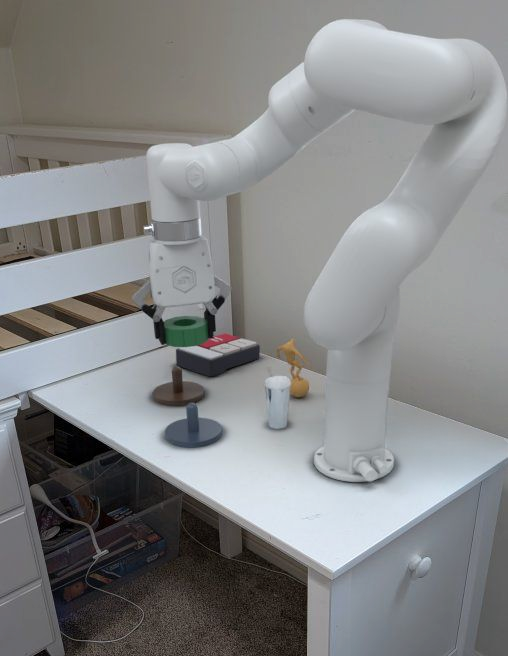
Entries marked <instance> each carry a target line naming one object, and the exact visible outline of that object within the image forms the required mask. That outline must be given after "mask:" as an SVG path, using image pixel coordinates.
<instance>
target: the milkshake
mask: <svg viewBox="0 0 508 656" xmlns="http://www.w3.org/2000/svg"><path fill="white" fill-rule="evenodd" d="M267 369H268V374H269V377H268V378H266V380H265V381H264V392H265V401H266V408H267V409H266V411H267V420H268V427H269V428H271V429H275V430H283V429H284V428H286V427H287V426H288V418H289V406H290V405H289V404H290V396H291V393H290V387H291V379H290V378H288V376H287V375H275V376H273V374H272V369H271V367H270V366H268V367H267Z"/></svg>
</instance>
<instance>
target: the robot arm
mask: <svg viewBox="0 0 508 656" xmlns="http://www.w3.org/2000/svg"><path fill="white" fill-rule="evenodd" d="M267 103H268V108H267V109H266V110H265V111H264V113H262V114H261V115H260V117H259V116H258V118H257V119H256V120H255V121H254V122H253V121H252V123H250V125H248V126H247V127H245V128H244V129H243V130H242V131H240V132H239V133H237V134H236V135H234V136H233V137H231V138H229V139H223V140H218V141H214V142H209V143H206V144H200V145H196V146H193V145H191V144H189V143H185V142H169V143H168V142H167V143H159V144H155V145H152V146H150V147H149V148H148V149H147V151H146V156H145V157H146V158H145V159H146V169H147V181H148V192H149V203H150V211H151V212H150V213H151V219H150V220H151V222H150V223H149V224H147V225H143V226H142V228H143V234H144V235H145V236H148V235H149V236H151V237H153V239H151V240H150V241H149V248H148V249H149V250H148V280H147V281H146V282H145V283H144V284H143V285H142V286H141V287H140V288H139V289H138V290H137V291H136V292H135V293H133V294H132V296H131V300H132V302H133V303H134V304H135V305H136V306H137V307H138V308H139V309H140V310H141V311H142V312H143V313H144V314H145V315H147V317H149V318H151V319H152V321H153V322H152V324H153V331H154V332H153V333H154V338H155V339H156V340H158V341H159V343H160V345H161V346H165V345H166V339H165V328H164V321H165V320H164V319H163V318H162V317H163V314H164V312H165V311H166V308H173V307H174V308H177V307H182V306H183V307H184V306H192V305H200V304H203V305H204V307H205V310H204V311H203V318H205V319H206V320H207V322H208V337H209V338H210V339H213V337H214V333H216V332H217V326H216V323H217V321H216V315H217V313H218V311H219V310H220V308H221V307H222V306H223V305H224V304H225V302H226V299H227V298H228V297H229V295H230V293H231V292H232V289H233V288H232V286H231V285H230V284H229V283H227V282H226V281H224V280H223V279H221V278H219V277H218V276H216V275H215V274H214V266H213V260H212V253H211V249H210V245H209V241H208V238H207V237H206V236H205V235H202V220H201V205H200V203H201V202H212V201H216V200H219V199H223V198H226V197H229V196H231V195H234V194H238V193H242V192H244V191H246V190H248V189H250V188H252V187H254V186H255V185H257V184H258V183H259V182H261V181H263V180H264V179H265V178H267V177H268V176H271V174H273V173H275V172H276V171H278V170H279V169H280V168H281V167H282V166H284V165H286V163H288V162H289V161H291V159H293V158H294V157H295V156H296V155H297V154H298V153H300V152H301V151H302V150H304V149H305V147H306V146H307V145H309V144H310V143H311V142H312V141H314V140H315V139H317V138H318V137H319V136H322V134H324V133H325V132H326V131H327V130H329V129H330V128H332V127H333V126H335V125H337V124H338V123H339V122H340V121H342V120H344V119H345V118H346V117H348V116H349V115H350V114H353V112H355V111H357V112H358V111H359V112H362V113H366V114H371V115H376V116H380V117H384V118H387V119H388V118H389V119H392V120H397V121H400V122H405V123H409V124H414V125H421V126H422V125H424V126H432V128H431V130H430V132H429V134H428V136H427V137H426V139H425V140H424V141H423V143H422V144H421V146H420V147H419V148H418V150H417V151H416V152H415V154H414V156H413V157H412V159H411V161H410V162H409V163H408V166H407V167H406V169H405V171H404V172H403V174H402V176H401V177H400V178H399V180H398V182H397V183H396V185H395V187H394V188H393V190H392V191H391V192H390V194H389V195H388V196H387V197H386V198H385V199H384V200H383V201H382V202H380V203H378V204H377V205H374V206H372V207H370V208H369V209H367V210H365V211H364V212H362V213H361V214H360V215H359V216H357V218H356V219H354V221H353V222H351V224H350V226H349V227H348V228H347V229H346V230H345V232H344V233H343V235H342V236H341V238H340V240H339V241H338V243H337V245H336V247H335V248H334V249H333V251H332V253H331V255H330V257H329V259H328V260H327V262H326V263H325V265H324V267H323V268H322V269H321V272H320V274H319V275H318V277H317V279H316V280H315V281H314V284H313V285H312V287H311V289H310V291H309V293H308V294H307V297H306V299H305V303H304V306H303V323H304V327H305V330H306V332H307V334H308V336H309V337H310V338H311V340H312V342H314V343H315V344H316V345H318V346H319V347H321V348H323V349H326V350H327V353H326V370H325V399H324V400H325V401H324V402H325V405H324V406H325V407H324V441H323V445H322V446H321V447H319V448H318V449H316V451H315V453H314V455H313V456H314V457H313V458H314V459H313V464H314V466H315V469H317V471H319V472H320V473H321V474H323V475H324V476H327V477H329V478H331V479H334V480H337V481H342V482H350V483H362V482H368V483H369V482H370V483H371V482H373V481H374V482H375V480H378V479H382V478H383V477H385V476H387V475H388V474H389V473H391V471H392V470H394V469H393V468H394V465H395V458H394V455H393V454H392V452H391V451H390V450H389V449H387V448H386V439H387V424H388V411H389V398H390V385H391V373H392V361H393V359H392V358H393V348H394V342H395V334H396V330H397V324H398V320H399V313H400V307H401V292H400V286H401V285H402V284H403V282H404V281H405V279H406V278H407V277H408V276H409V275H410V274H411V273H413V272H414V271H415V270H417V269H418V268H419V267H421V266H422V265H423V264H424V263H425V262H426V261H427V260H428V259H429V257H430V256H431V255H432V253H433V251H434V250H435V248H436V246H437V245H438V243H439V241H440V239H441V238H442V237H443V235H444V234H445V232H446V230H447V229H448V228H449V226H450V225H451V223H452V222H453V220H454V219H455V217H456V215H458V213H459V211H460V210H461V208H462V207H463V205H464V204H465V202H466V201H467V199H468V197H469V196H470V195H471V192H472V191H473V189H474V188H475V186H476V185H477V183H478V182H479V180H480V179H481V177H482V176H483V175H484V173H485V171H486V170H487V168H488V166H489V165H490V164H491V161H492V159H493V158H494V156H495V154H496V152H497V150H498V148H499V145H500V143H501V140H502V138H503V135H504V131H505V127H506V123H507V118H508V89H507V84H506V81H505V78H504V74H503V72H502V69H501V67H500V66H499V63H498V62H497V60H496V58H495V57H494V55H493V54H492V53H491V52H490V51H489V49H487V48H486V47H485V46H484V45H482V44H481V43H479V42H477V41H475V40H472V39H468V38H461V37H460V38H459V37H458V38H457V37H455V38H435V37H428V36H423V35H417V34H411V33H406V32H400V31H396V30H390V29H388V28H387V27H386V26H384V25H383V24H381V23H379V22H377V21H374V20H370V19H355V18H343V19H336V20H334V21H331V22H329V23H327V24H326V25H324V26H323V27H321V28H320V29H319V30H318V31H317V32H316V33H315V35H314V36H313V37H312V38H311V41H310V42H309V44H308V46H307V48H306V51H305V54H304V60H303V61H302V62H301V63H300V64H298V65H297V66H296V67H295V68H293V69H292V70H291V71H290V72H288V73H287V74H286V75H285V76H283V77H282V78H280V80H278V81H277V82H276V83H274V84H273V85H272V86H271V88H270V90H269V92H268V98H267ZM200 201H201V202H200ZM216 287H217V288H218V289H219V291H218V294H217V295H216ZM149 294H150V297H151V299H152V300H153V306H150V305H149V304H148V303H146V301H145V300H144V299H145V298H146V297H147V296H148V295H149Z"/></svg>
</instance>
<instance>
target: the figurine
mask: <svg viewBox="0 0 508 656" xmlns="http://www.w3.org/2000/svg"><path fill="white" fill-rule="evenodd" d="M295 346H296V340H295V338H291V339H290V340H289V341H287V342H286V343H285V344H282V345H281V346H278V347H277V348H276V357H277V358H278V359H281V358H282V355H281V352H280V351H281V350H282V353H283V354H284V356H285V361H286V362H287V364H288V365H290V366H291V367H290V368H289V371H290V372H289V373H290V375H291V377H292V378H291V379H290V381H291V387H290V395H291V396H293V397H295V398H303V397H305V396H306V395H307V394H308V393H309V391H310V383H309V381H308V379H306V378H305V377H304V376H300V375H299V374H300V373H301V371H302V369H303V364H302V363H301V362H300V361H299V359H297V358H296V356H297V357H299V358H300V359H301V360H302V361H303V362H304V363H305V364H306V365H307V366H308V367H309V369H312V367H311V364H310V363H309V361H307V359H306V358H305V357H304V356H303V355H302V354H301V353H300V352H299V351H298V350H297V348H296V347H295ZM295 367H296V368H298V369H297V370H296V372H295V374H294V371H295Z"/></svg>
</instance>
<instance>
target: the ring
mask: <svg viewBox="0 0 508 656" xmlns="http://www.w3.org/2000/svg"><path fill="white" fill-rule="evenodd" d="M163 321H164V328H165V339H166V344H165V345H166V346H170V347H172V348H179V347H192V346H197V345H200V344H203V343H205V342H206V341H207V340H208V339H209V337H208V322H207V320H206V319H205V318H204V317H202V316H199V315H198V316H197V315H180V316H173V317H171V318H168V319H165V320H163Z"/></svg>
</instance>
